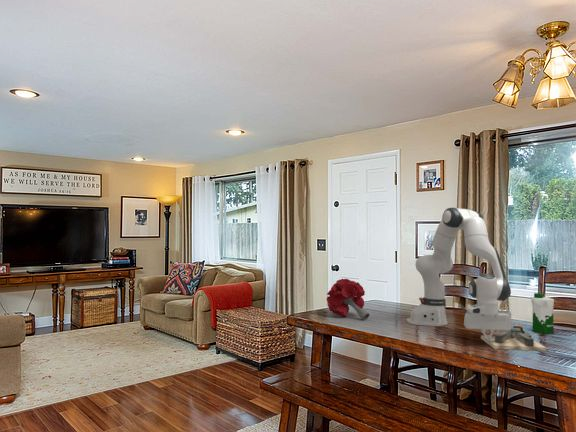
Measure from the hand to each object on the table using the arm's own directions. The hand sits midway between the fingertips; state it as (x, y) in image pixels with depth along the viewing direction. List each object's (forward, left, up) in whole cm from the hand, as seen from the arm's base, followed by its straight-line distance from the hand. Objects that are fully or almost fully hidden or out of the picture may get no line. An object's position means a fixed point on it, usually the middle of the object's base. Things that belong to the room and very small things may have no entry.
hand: (487, 339), depth 193 cm
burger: (+21, +19, -3) cm, 28 cm away
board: (+12, +3, -3) cm, 12 cm away
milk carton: (+38, +30, -3) cm, 48 cm away
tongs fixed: (+15, +2, -1) cm, 15 cm away
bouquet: (-63, +52, -3) cm, 82 cm away
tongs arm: (+8, +3, -1) cm, 9 cm away
